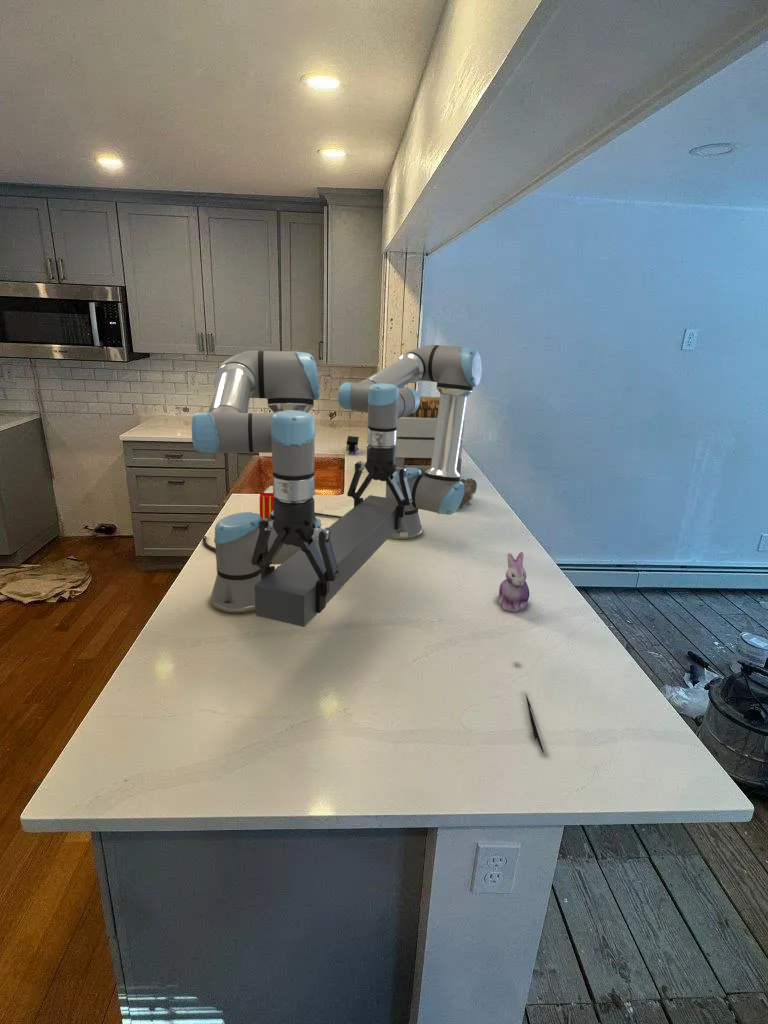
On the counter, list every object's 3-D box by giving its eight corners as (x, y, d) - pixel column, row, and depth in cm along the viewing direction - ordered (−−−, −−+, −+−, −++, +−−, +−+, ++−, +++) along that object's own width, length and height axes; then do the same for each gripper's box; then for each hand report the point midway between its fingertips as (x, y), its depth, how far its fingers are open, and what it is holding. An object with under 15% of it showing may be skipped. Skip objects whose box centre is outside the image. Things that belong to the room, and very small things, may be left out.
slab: (368, 516, 162) (369, 495, 159) (403, 522, 159) (404, 500, 156) (255, 615, 108) (254, 585, 105) (304, 627, 105) (304, 596, 102)
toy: (300, 481, 221) (289, 494, 192) (300, 514, 224) (289, 533, 194) (268, 480, 221) (253, 493, 191) (269, 514, 223) (254, 532, 194)
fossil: (440, 484, 244) (470, 465, 239) (453, 501, 247) (482, 482, 242) (440, 506, 224) (472, 486, 219) (454, 524, 227) (486, 504, 222)
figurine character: (358, 457, 303) (358, 448, 316) (358, 444, 299) (359, 435, 313) (345, 457, 302) (346, 447, 316) (345, 443, 299) (347, 434, 313)
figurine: (511, 616, 149) (518, 564, 143) (487, 598, 157) (493, 549, 152) (539, 609, 153) (547, 558, 148) (514, 592, 161) (521, 544, 156)
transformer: (382, 463, 289) (386, 382, 275) (445, 464, 293) (451, 384, 279) (390, 482, 257) (394, 392, 243) (460, 483, 261) (468, 394, 247)
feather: (517, 669, 129) (522, 662, 128) (543, 757, 102) (550, 750, 102) (511, 665, 129) (516, 659, 128) (535, 752, 102) (542, 745, 101)
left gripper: (228, 494, 104) (234, 600, 112) (343, 513, 97) (341, 625, 105) (250, 483, 111) (254, 584, 118) (359, 500, 104) (356, 606, 111)
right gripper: (335, 443, 147) (334, 522, 154) (419, 453, 140) (414, 536, 148) (346, 437, 153) (345, 513, 161) (428, 447, 146) (422, 526, 154)
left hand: (295, 603), depth 111 cm, fingers closed on slab, 10 cm apart
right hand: (378, 524), depth 154 cm, fingers closed on slab, 10 cm apart
